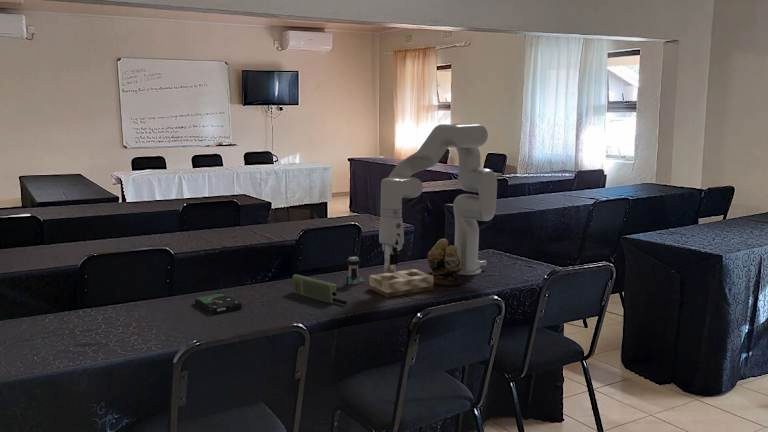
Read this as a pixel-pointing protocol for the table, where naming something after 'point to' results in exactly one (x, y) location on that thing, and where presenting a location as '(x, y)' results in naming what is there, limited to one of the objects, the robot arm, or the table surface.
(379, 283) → the socket block
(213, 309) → the disk drive
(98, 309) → the table surface
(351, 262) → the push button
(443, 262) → the tan lumpy piece
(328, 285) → the handheld radio
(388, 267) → the pin
